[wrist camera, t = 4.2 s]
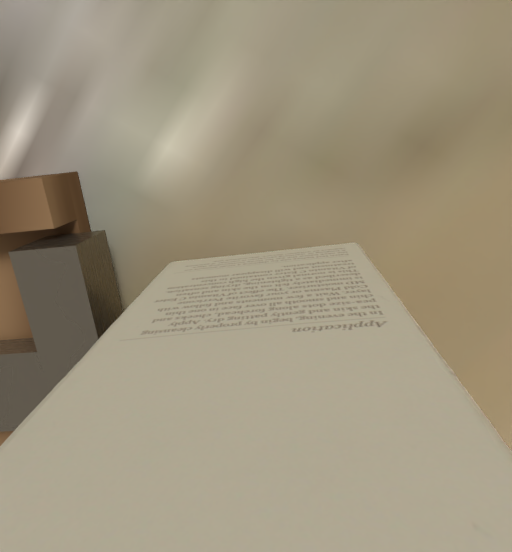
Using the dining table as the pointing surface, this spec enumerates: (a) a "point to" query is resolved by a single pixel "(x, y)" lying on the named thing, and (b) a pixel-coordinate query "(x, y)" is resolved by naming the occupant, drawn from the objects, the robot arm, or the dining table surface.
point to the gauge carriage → (55, 316)
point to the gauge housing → (32, 235)
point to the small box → (259, 424)
